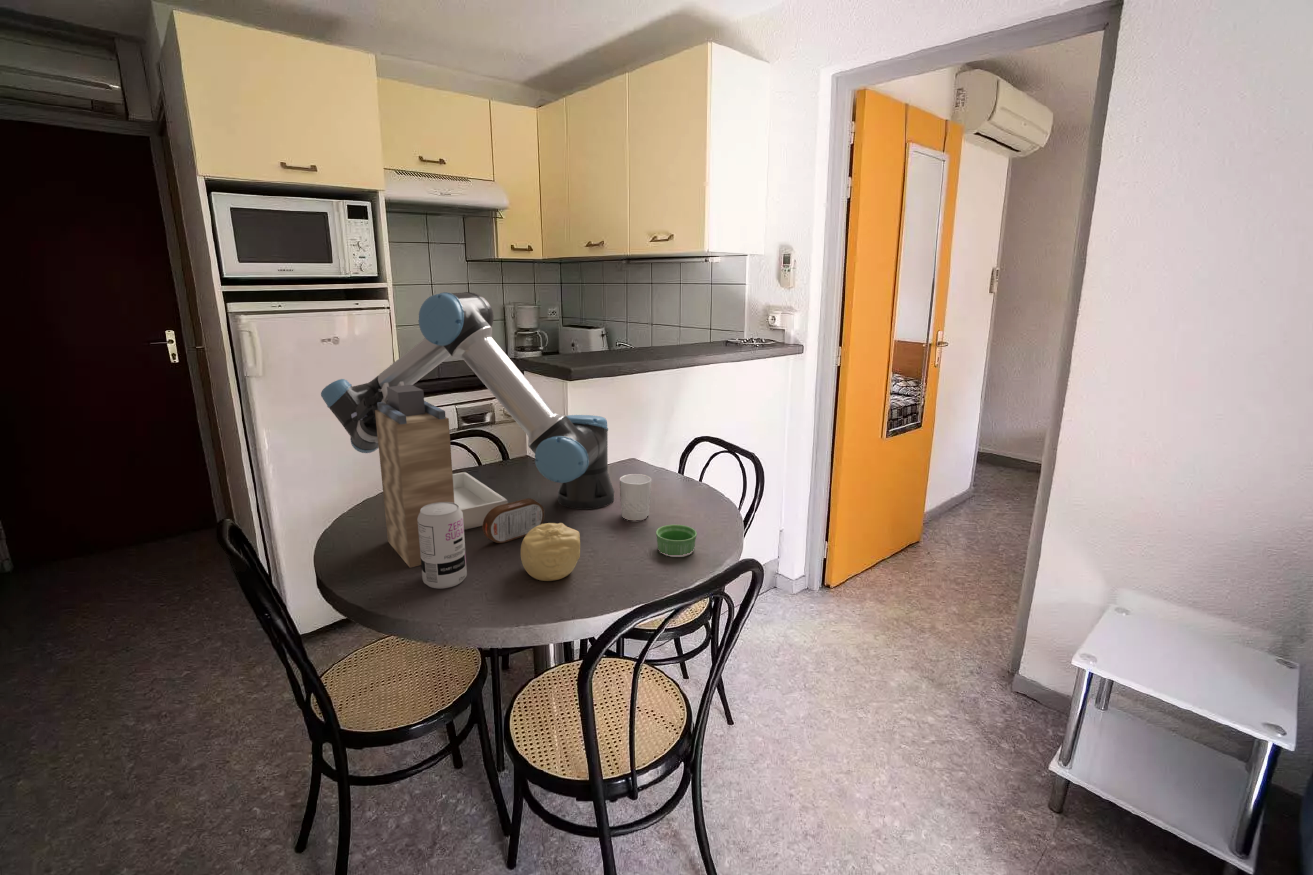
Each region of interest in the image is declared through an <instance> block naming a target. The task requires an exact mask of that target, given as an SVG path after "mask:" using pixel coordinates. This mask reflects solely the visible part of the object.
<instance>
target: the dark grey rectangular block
mask: <svg viewBox="0 0 1313 875" xmlns="http://www.w3.org/2000/svg"><path fill="white" fill-rule="evenodd" d="M378 390H379V392H380V391H381V389H378ZM387 393H388V400H387V402H386V404H387V405H389V406H391V407H392V408H394V409H396V410H397V411H399V412H401V413H402V414H404V415H406V416H413V415H421V414H425V405H424V401H425V397H424V396H425V393H424V389H422V388H419V387H417V386H415V385H414V384H413V385H402V386H391V387H387Z"/></svg>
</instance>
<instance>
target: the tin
mask: <svg viewBox="0 0 1313 875" xmlns="http://www.w3.org/2000/svg"><path fill="white" fill-rule="evenodd" d="M544 520H545V509H544V506H543V505H542V504H541V503H540V502H538V501H536V499H534V498H529V497H528V498H523V499H520V500H515V501H513V502H508V503H507V504H503V505H499V506H496V507H494V508H493V509H491V510H490V511H489V512H488V514H487V515H486V517H485V518H484V521H483V525H482V531H483V534H484V536H485V537H486V538H487V539H488V540H491V541H492V542H494V543H497V544H504V543H507V542H508V543H509V542H511V541H514V540H516V539H517V540H518V539H520V538H523V537H525V536H526V534H527V533H528V532H529V531H530V530H531V529H533V528H534V527H536V526H538V525H541V524H544Z"/></svg>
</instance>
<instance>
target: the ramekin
mask: <svg viewBox="0 0 1313 875" xmlns="http://www.w3.org/2000/svg"><path fill="white" fill-rule="evenodd" d="M655 535H656V536H655V537H656V540H657V541H656V542H657V550H658V549H659V550H660V552H662V553H665V554H668V555H683V554H687V553H690V552H691V551H693V549H694V550H695V548H694V547H695V546H696V538H697V536H698V532H697V531H696V529H694V528H693V527H691V526H688V525H683V524H667V525H663V526H660V527H658V528H657V529H656V531H655ZM660 552H659V553H660Z"/></svg>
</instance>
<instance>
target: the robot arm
mask: <svg viewBox="0 0 1313 875" xmlns="http://www.w3.org/2000/svg"><path fill="white" fill-rule="evenodd" d="M494 318H495V317H494V311H493V308H492V306H491V304H490V303H489V301H488V300H487V299H486V298H485V297H483V296H482V295H480V294H478V293H477V292H476V293H475V292H470V291H468V292H467V291H465V292H445V291H444V292H440V293H435V294H433V295H430V296H428V297H427V299H425V300H424V301H423V303H422V304H421V306H420V308H419V312H418V327H419V330H420V332H421V334H422V335H423V337H424V338H423V339H422V340H420V341H419V342H418V343H416V345H414V346H413V347H412V348H410V349H409V350H407V351H406V353H404V354H403V355H401V356H400V357H399V358H398V359H397V360H396V361H395V360H394V362H393V363H391V364H390V365H389V366H388V367H386V368H385V369H383V371H382V372H381V373H379V374H378V375H377V376H376V377H374V378H373V379H372V380H370V381H369V382H366V383H362V384H358V385H353V386H352V384H351V383H350V382H349V381H348V380H347V379H345V378H340V379H337V380H334V381H332V382H330V383H329V384H328V385H326V386H325V387H324V388H323V389H322V390H321V392H320V396H321V398H322V400H323V402H324V403H325V404H326V407H327V408H328V409H329V410H330V411H331V412H332V414H333V415H334V416H335V418H336V419H337V420H338V422H339V423H340V424H341V425H342V427H343V428H344V429H345V432H347V433H348V435H349V437H350V444H351V446H352V448H353V449H354V450H355V451H357V452H359V453H362V454H370V453H373V452H375V451H377V450H379V446H378V436H377V426H376V416H375V410H378V406H377V403H378V402H384V403H386V402H387V400H388V393H387V387H391V386H402V385H413V386H414V384H415V383H417V382H418V381H420V379H422V378H423V377H425V376H426V375H428V373H430V372H431V371H433V370H434V369H435V368H436V367H437V366H439V365H440V364H441V363H443V362H444V361H445V360H447V359H448V358H450V357H452V358H453V359H454V360H463V361H464V362H465V363H466V365H467V366H468V367H469V368H470V369H471V370H472V372H473V373H474V374H475V375H476V376H477V377H478V379H479V380H480V381H481V382H482V384H483V385H485V386H484V387H485V388H487V389H488V390H489V392H490V393H491V394H492V395H493V397H495V399H496V400H497V401H498V403H499V404H500V405H501V406H502V407H503V408H504V410H506V412H507V413H508V415H509V416H511V418H512V419H513V420H514V421H515V422H516V423H517V425H518V426H519V427H520V428H521V430H523V432H524V433H525V434H526V435H527V436H528V442H527V447H529V449H530V450H531V451H532V453H534V463H535V467H536V468H537V470H538V472H539V473H540V474H541V475H542V476H543V477H544V478H545V479H547V480H548V481H550V482H553V483H560V484H559V487H558V489H557V502H558V503H559V504H560V505H562V506H564V507H567V508H571V509H579V510H591V509H598V508H603V507H605V506H608V505H610V504H612V503H613V502H614V501H615V490H614V487H613V484H612V481H611V478H610V475H609V471H608V467H609V466H608V459H609V458H608V455H609V454H608V438H609V437H608V435H609V434H608V431H609V428H608V421H607V419H606V418H605V417H603V416H600V415H594V414H593V415H590V414H589V415H588V414H569V415H566V414H560V413H556V412H555V410H554V409H552V406H550V404H548V402H547V401H546V400H545V398H544V397H543V396H542V395H541V394H540V393H539V392H538V390H537V389H536V388H535V387H534V386H533V385H532V383H531V382H530V381H529V380H528V379H527V378H526V376H525V375H524V374H523V373H522V372H521V370H520V369H519V368H518V367H517V366H516V364H515V363H514V362H513V361H512V360H511V359H510V357H509V355H507V353H505V351H504V350H503V349H502V348H501V346H500V345H499V344H498V343H497V342H496V340H494V338H493V324H494ZM378 389H381V391H380V392H379V390H378ZM613 500H614V501H613ZM611 502H612V503H611Z"/></svg>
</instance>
